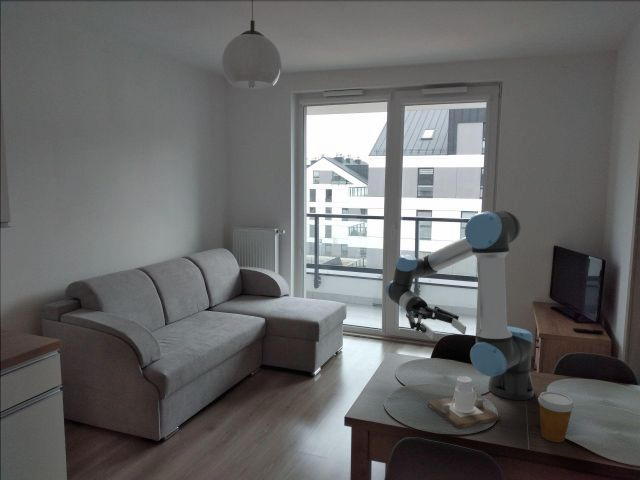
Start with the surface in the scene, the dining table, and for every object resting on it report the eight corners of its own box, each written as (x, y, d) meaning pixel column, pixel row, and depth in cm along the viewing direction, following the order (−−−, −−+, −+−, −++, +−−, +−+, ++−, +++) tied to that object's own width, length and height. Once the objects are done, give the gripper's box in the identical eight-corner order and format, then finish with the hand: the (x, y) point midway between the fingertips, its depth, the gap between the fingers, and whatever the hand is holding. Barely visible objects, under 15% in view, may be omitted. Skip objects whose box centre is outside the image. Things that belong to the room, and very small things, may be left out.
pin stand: (467, 397, 165) (467, 389, 165) (499, 419, 150) (500, 410, 150) (427, 404, 159) (428, 395, 159) (457, 428, 145) (458, 418, 144)
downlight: (470, 402, 159) (471, 373, 157) (480, 412, 152) (481, 382, 151) (447, 404, 158) (448, 375, 156) (456, 415, 151) (457, 384, 149)
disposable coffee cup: (569, 449, 135) (573, 408, 133) (532, 438, 140) (536, 399, 138) (572, 434, 143) (575, 396, 141) (537, 424, 148) (540, 388, 146)
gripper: (438, 310, 187) (475, 338, 169) (384, 317, 177) (417, 347, 158) (442, 293, 185) (479, 319, 166) (387, 299, 174) (421, 327, 156)
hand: (449, 333), depth 162 cm, fingers open, 13 cm apart
